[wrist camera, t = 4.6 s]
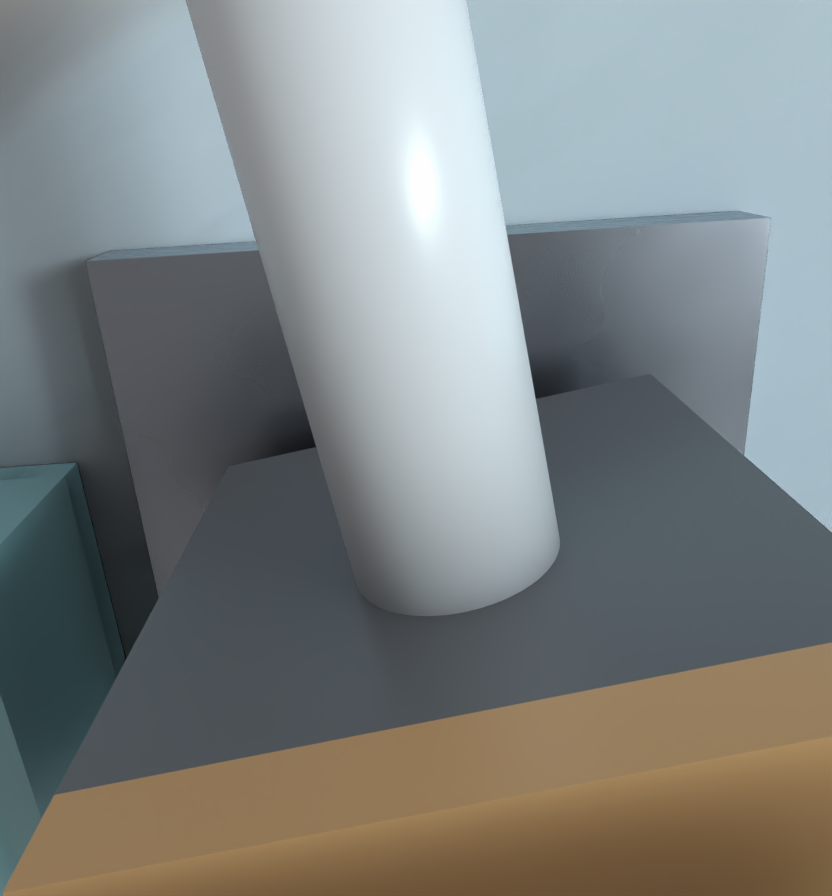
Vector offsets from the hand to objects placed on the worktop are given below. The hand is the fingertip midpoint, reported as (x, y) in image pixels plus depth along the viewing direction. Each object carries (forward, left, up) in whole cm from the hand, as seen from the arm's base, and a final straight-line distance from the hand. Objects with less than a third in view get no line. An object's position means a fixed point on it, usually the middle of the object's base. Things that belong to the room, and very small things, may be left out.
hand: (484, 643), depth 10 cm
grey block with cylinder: (+3, 0, -1) cm, 3 cm away
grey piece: (0, 0, -3) cm, 3 cm away
